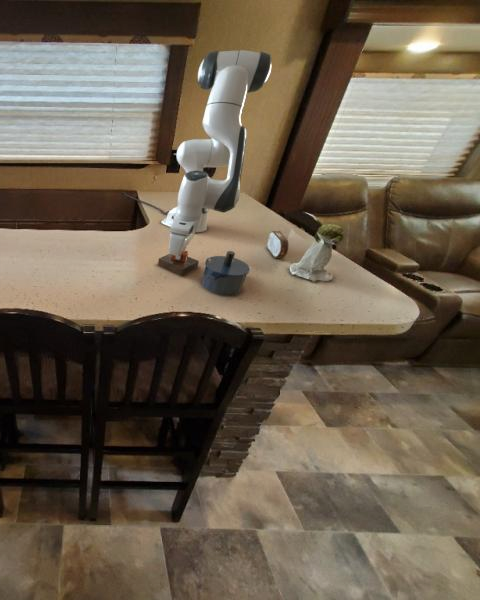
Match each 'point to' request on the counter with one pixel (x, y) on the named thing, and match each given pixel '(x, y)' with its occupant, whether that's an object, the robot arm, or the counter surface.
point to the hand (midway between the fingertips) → (179, 257)
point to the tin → (277, 244)
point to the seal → (183, 257)
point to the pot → (222, 283)
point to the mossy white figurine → (319, 254)
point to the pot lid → (227, 265)
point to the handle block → (178, 264)
